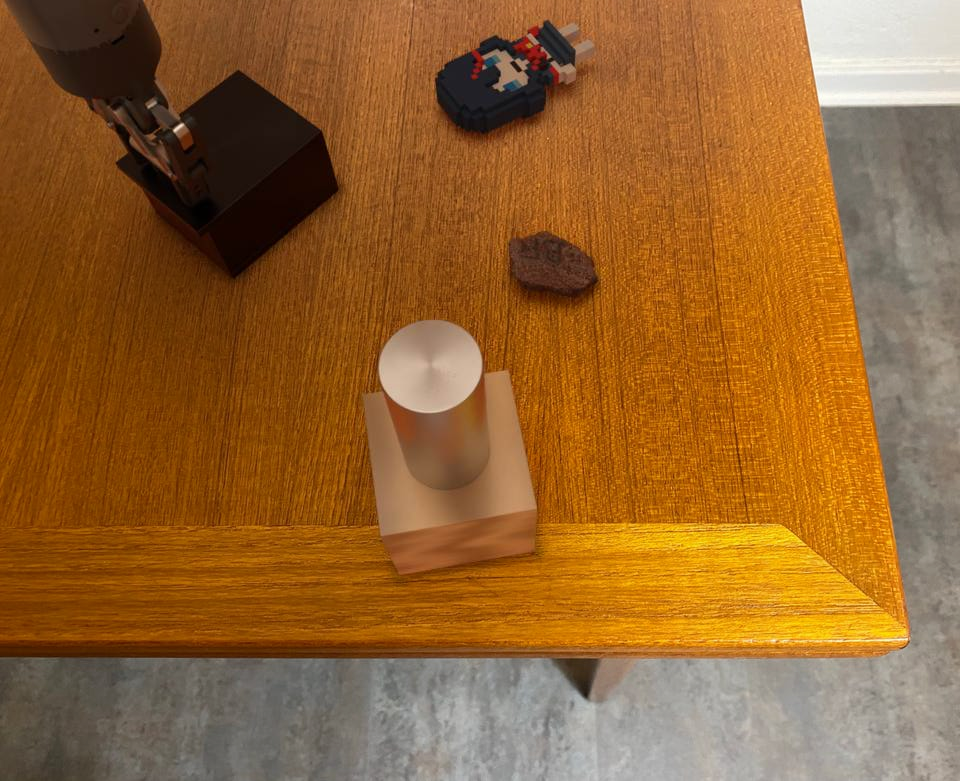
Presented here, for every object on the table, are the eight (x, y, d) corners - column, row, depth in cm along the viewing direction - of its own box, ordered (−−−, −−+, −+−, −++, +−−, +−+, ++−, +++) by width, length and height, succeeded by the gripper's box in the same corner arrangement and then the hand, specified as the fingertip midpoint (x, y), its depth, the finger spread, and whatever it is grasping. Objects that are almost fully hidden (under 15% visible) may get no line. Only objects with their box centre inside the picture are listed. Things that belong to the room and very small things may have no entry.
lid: (200, 238, 69) (178, 198, 65) (118, 169, 72) (91, 126, 68) (324, 137, 73) (311, 92, 69) (240, 75, 76) (223, 29, 72)
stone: (504, 246, 76) (504, 224, 73) (588, 237, 76) (591, 215, 73) (513, 312, 73) (513, 292, 70) (600, 303, 73) (604, 283, 70)
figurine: (612, 52, 79) (469, 122, 77) (608, 87, 83) (472, 155, 80) (559, -5, 83) (420, 59, 80) (557, 31, 87) (424, 94, 84)
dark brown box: (233, 279, 75) (208, 232, 69) (156, 214, 79) (126, 163, 73) (339, 189, 79) (324, 137, 73) (261, 131, 83) (241, 76, 76)
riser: (399, 575, 64) (380, 536, 55) (382, 449, 68) (362, 394, 59) (534, 551, 64) (537, 508, 55) (509, 427, 69) (508, 369, 60)
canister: (410, 497, 56) (384, 421, 45) (398, 417, 58) (371, 328, 47) (496, 482, 56) (491, 403, 45) (481, 403, 58) (473, 310, 48)
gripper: (-37, -16, 56) (81, 160, 71) (98, 93, 52) (193, 256, 67) (58, -78, 58) (153, 106, 74) (196, 22, 54) (267, 196, 69)
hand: (172, 177), depth 70 cm, fingers open, 5 cm apart
